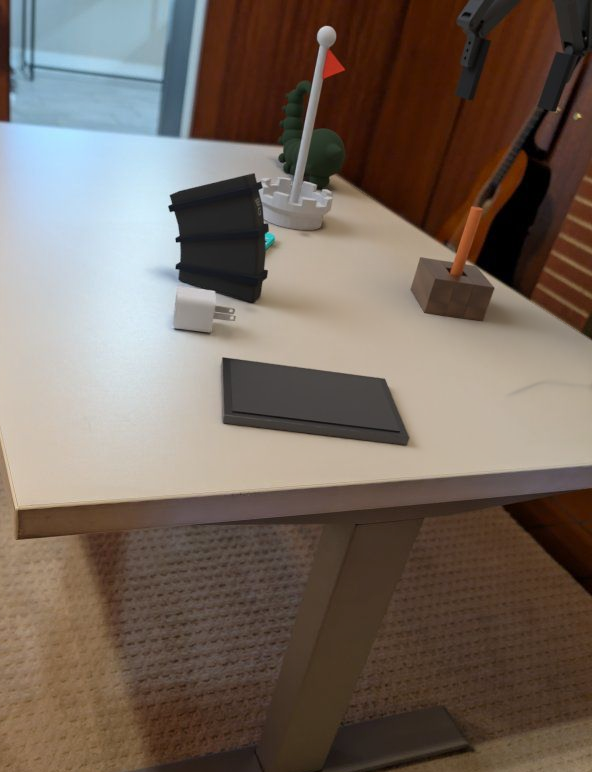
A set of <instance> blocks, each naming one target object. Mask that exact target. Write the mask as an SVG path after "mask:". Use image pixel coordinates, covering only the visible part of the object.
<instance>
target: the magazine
mask: <svg viewBox="0 0 592 772" xmlns="http://www.w3.org/2000/svg"><path fill="white" fill-rule="evenodd" d="M262 188H263V187H262V183H261V182H260V181H258V180H257V177H256V173H255V172H253V173H249V174H245V175H241V176H240V175H239V176H236V177H232V178H227V179H223V180H219V181H215V182H211V183H205V184H203V185H198V186H194V187H191V188H186V189H181V190H178V191H175V192H173V193H170V194H169V199H170V202H171V204H169V205H168V206H167V208H168V212H169V213H174V215H175V220H176V222H177V229H178V236H177V237H175V238H174V240H175V243H177V244H178V243H179V247H180V248H179V250H180V254H179V255H180V256H179V257H180V259H179V262H178V263H175V268H174V269H175V270H177V271H179V272H178V280H179V281H181V282H183V283H187V284H190V285H192V286H196V287H200V288H202V289H205V290H211V291H215V293H218V294H222V295H226V296H229V297H231V298H236V299H238V300H241V301H244V302H248V303H255V302H256V301H257V300H258V299H259V298H260V297H261V295H262V288H263V282H264V281H265V280H267V278H268V273H269V270H268V269H265V264H266V252H267V249H266V248H265V234H266V233H270V229H269V228H270V227H269V222H268V223H267V222H266V223H265V220H264V217H263V206H262V202H261V198H260V193H259V190H260V189H262Z"/></svg>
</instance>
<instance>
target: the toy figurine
mask: <svg viewBox="0 0 592 772" xmlns="http://www.w3.org/2000/svg"><path fill="white" fill-rule="evenodd" d="M312 84H313V83H311V82H310V81H309V80H301V81H300V82H298V83H297V85H296V89H295V88H294V89H292V90H291V91H289V92H287V93H286V94H285V99H286V100H287V102H288V103H287V105H286V104H285V105H283V106H282V108H281V110H282V112H283V113H284V114H285V116H286V117H285V118H284V120H283V119H282V120H280V121H279V127H280V128H282V129H283V132H282V135H281V136H279V137H278V138H277V143H278V144H279V145H280V146H281V145H282V146H283V148H282V152H281V153H280V154H279V155H278V158H277V159H278V161H279V163H280V164H283V165H282V171H283V172H284V173H290V174H291V175H292V176H293V177H294V176H295V171H296V166H297V161H298V155H299V150H300V145H301V140H302V135H303V129H304V120H303V118H302V117H303V116H304V113H305V108H304V105H303V104H304V102H305V95H308V96H309V97H310V94H311V89H312ZM345 158H346V148H345V145H344V141H343V139H342V138H341V137H340V136H339V134H337V132H335V131H333V130H332V129H329V128H324V127H323V128H317V129H316V128H315V129H313V132H312V137H311V142H310V147H309V152H308V157H307V161H306V166H305V171H304V175H307V176H309V179H308V182H309V183H313V184H316V185H317V188H316V189H325V188H327V187H328V186H329V185H330V182H331V181H330V180H331V179H330V178H331V177H332V176H335V175H336V174H340V173H341V171H342V167H343V165H344V162H345Z"/></svg>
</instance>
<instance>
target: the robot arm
mask: <svg viewBox="0 0 592 772" xmlns="http://www.w3.org/2000/svg"><path fill="white" fill-rule="evenodd" d="M551 1H552V3H553V5H554V11H555V16H556V22H557V28H558V33H559V38H560V43H561V48H562V52H561V51H555V54H554V56H553V59H552V62H551V64H550V68H549V71H548V73H547V77H546V79H545V83H544V85H543V89H542V91H541V94H540V96H539V100H538V103H537V106H536V107H538V108H540V109H544V110H546V111H549V112H554V113H556V112H557V109H558V106H559V103H560V101H561V98H562V96H563V93H564V90H565V87H566V84H568V83H569V82H570V80H571V79H572V75H573V73H574V70H575V67H576V64H577V62H578V59H579V57H582V58H584V57H586V56H588V53H589V52H590V53H592V0H551ZM521 2H522V0H468V1H467V3H466V5H465V6H464V8H463V9H462V10H461V12H460V13H459V15H458V16H457V18H456V25H457V26H458V27H460V28H462V32H463V34H465V35H467V37H466V41H465V44H464V47H463V51H462V55H461V58H460V66H462V69H461V72H460V73H461V74H460V76H459V80H458V84H457V86H456V90H455V93H454V94H455V95H454V96H457V97H459V98H462V99H464V100H468V101H474V99H475V96H476V92H477V89H478V87H479V82H480V80H481V76H482V73H483V69H484V67H485V66H484V65H485V63H486V59H487V57H488V53H489V49H490V46H491V43H492V40H490V39H487V38H486V37H487V36H488V35H489V34H490V33H491V32H492V31H493V30H494V29H495V28H496V27H497V26H498V25H499V24H500V23H501V22H502V21H503V20H504V19H505V18H506V17H507V16H508V15H509V14H510V13H511V12H512V11H513V10H514V9H515V8H516V7H517V6H518V5H519V4H520V3H521Z"/></svg>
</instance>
